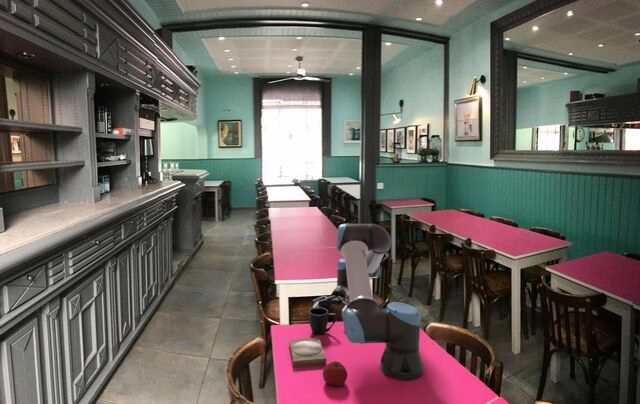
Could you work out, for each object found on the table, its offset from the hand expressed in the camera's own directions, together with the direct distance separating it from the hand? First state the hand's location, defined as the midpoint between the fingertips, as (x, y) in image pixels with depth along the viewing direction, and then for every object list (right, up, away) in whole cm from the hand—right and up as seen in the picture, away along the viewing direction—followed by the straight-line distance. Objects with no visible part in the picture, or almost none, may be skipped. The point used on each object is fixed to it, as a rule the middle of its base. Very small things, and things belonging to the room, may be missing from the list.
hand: (328, 312), depth 174 cm
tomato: (+1, -12, -43) cm, 45 cm away
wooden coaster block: (-9, -9, -25) cm, 28 cm away
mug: (-2, -7, -7) cm, 10 cm away
